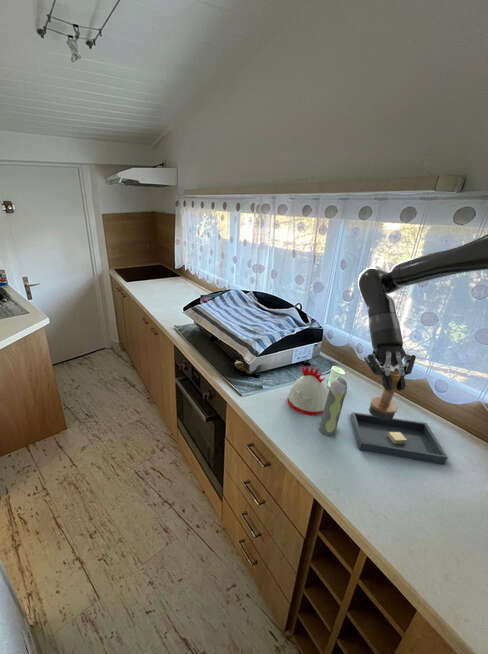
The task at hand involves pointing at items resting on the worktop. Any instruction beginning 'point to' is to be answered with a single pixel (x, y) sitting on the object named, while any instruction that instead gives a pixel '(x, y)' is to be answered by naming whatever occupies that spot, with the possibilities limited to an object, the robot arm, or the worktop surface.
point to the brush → (385, 401)
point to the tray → (417, 447)
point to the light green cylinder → (335, 374)
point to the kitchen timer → (308, 393)
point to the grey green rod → (333, 407)
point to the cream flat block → (397, 438)
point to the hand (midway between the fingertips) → (395, 389)
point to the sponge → (241, 366)
